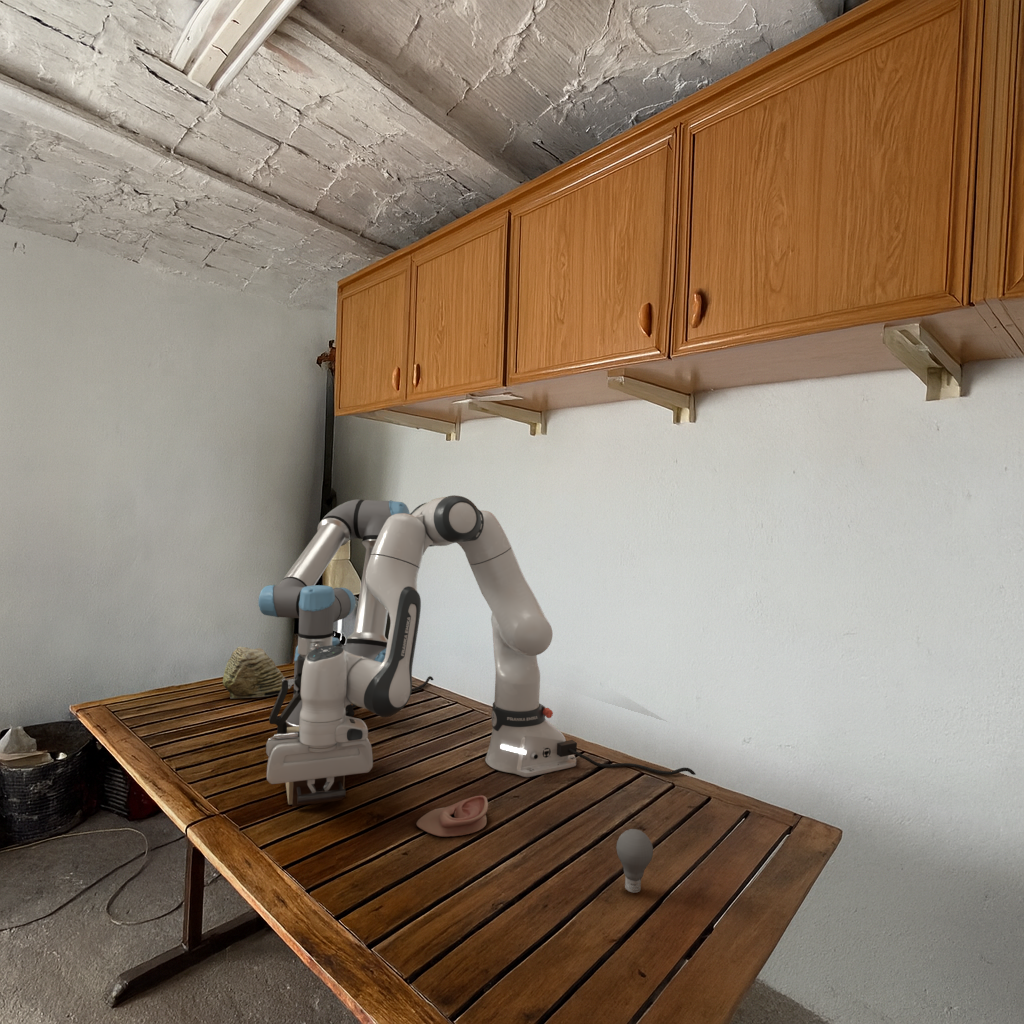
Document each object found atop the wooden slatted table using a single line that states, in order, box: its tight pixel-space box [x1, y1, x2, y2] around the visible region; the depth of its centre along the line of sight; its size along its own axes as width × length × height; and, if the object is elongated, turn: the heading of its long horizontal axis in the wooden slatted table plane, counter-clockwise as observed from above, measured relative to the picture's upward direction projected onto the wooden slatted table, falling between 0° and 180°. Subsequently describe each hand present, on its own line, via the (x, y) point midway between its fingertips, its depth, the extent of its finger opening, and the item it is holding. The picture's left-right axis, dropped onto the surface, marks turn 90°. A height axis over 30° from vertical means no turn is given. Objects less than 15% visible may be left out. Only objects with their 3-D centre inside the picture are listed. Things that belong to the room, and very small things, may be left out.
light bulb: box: [615, 828, 654, 894], centre depth 106 cm, size 6×6×10 cm
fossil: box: [222, 646, 286, 699], centre depth 198 cm, size 9×18×15 cm, turn 132°
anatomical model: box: [415, 795, 489, 838], centre depth 125 cm, size 13×4×12 cm
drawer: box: [291, 776, 347, 808], centre depth 133 cm, size 21×10×8 cm, turn 23°
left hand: (311, 750), depth 144 cm, fingers closed on cabinet, 11 cm apart
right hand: (319, 798), depth 126 cm, fingers closed
